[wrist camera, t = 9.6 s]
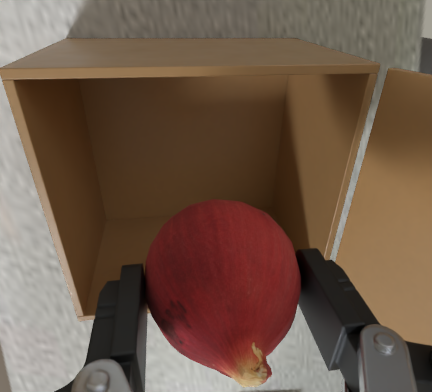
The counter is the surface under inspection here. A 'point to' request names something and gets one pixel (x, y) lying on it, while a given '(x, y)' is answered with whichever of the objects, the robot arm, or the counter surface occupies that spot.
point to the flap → (395, 210)
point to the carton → (183, 140)
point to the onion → (223, 286)
